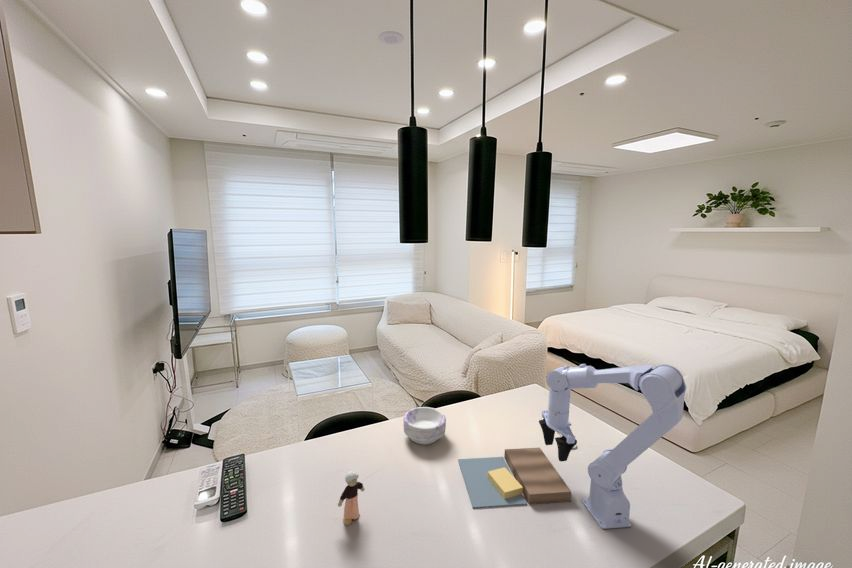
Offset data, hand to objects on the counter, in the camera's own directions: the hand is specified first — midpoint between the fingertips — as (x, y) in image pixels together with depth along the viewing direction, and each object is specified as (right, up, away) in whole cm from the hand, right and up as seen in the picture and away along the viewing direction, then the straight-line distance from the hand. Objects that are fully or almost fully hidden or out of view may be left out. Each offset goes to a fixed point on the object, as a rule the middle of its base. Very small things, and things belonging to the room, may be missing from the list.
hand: (555, 452), depth 101 cm
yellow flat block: (-15, -9, -1) cm, 18 cm away
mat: (-19, -9, +1) cm, 21 cm away
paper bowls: (-39, -6, +23) cm, 45 cm away
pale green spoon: (+11, -7, +25) cm, 28 cm away
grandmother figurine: (-57, -11, -13) cm, 59 cm away
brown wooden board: (-5, -9, +3) cm, 11 cm away
